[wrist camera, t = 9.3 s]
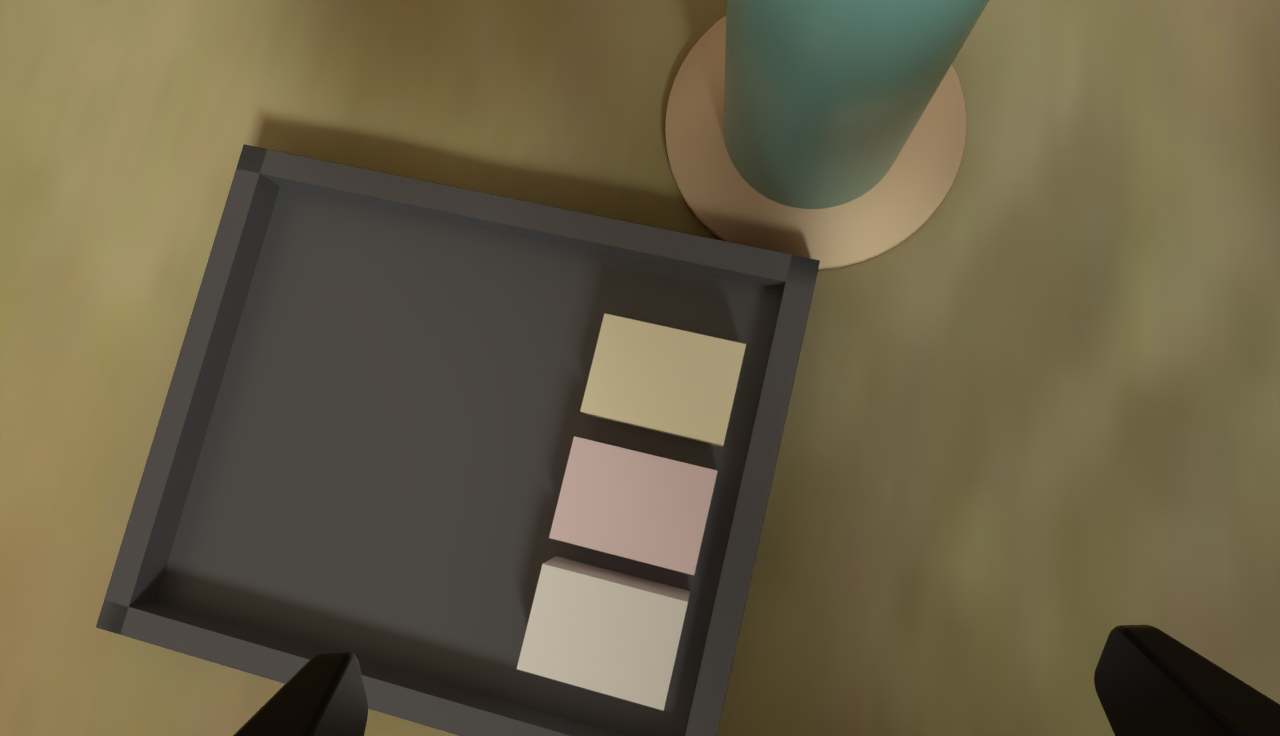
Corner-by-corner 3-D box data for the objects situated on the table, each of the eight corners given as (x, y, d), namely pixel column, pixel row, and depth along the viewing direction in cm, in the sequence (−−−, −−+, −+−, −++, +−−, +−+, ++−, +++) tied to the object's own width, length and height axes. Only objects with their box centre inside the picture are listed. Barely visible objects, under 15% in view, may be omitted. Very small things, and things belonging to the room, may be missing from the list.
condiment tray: (813, 274, 23) (823, 253, 21) (701, 783, 21) (700, 819, 19) (271, 163, 25) (229, 134, 23) (134, 617, 24) (75, 632, 21)
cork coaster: (987, 18, 23) (992, 10, 23) (931, 297, 22) (935, 295, 22) (701, -27, 24) (701, -35, 24) (636, 237, 24) (635, 233, 23)
